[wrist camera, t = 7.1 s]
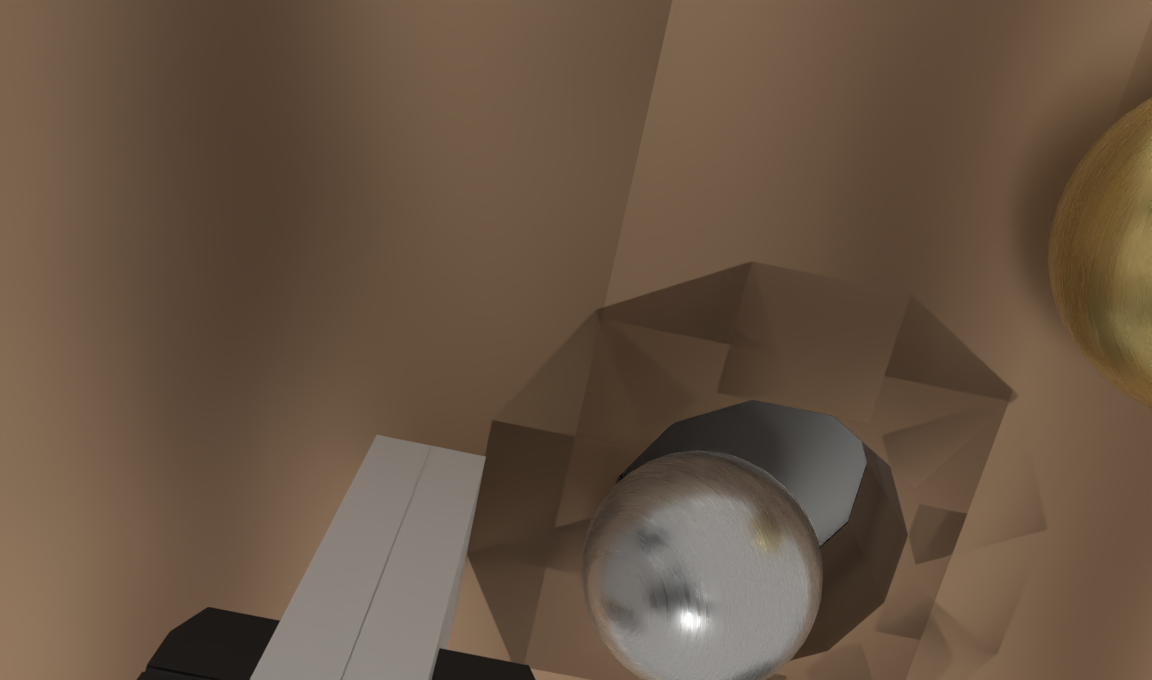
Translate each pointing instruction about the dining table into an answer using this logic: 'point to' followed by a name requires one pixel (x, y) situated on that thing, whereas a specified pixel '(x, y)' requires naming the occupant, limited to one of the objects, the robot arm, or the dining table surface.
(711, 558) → the steel ball
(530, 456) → the wooden board
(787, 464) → the dining table surface
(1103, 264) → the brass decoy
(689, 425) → the dining table surface
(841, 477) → the dining table surface
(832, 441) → the dining table surface
